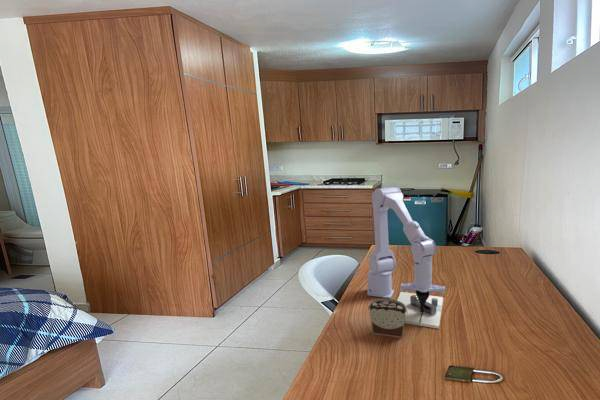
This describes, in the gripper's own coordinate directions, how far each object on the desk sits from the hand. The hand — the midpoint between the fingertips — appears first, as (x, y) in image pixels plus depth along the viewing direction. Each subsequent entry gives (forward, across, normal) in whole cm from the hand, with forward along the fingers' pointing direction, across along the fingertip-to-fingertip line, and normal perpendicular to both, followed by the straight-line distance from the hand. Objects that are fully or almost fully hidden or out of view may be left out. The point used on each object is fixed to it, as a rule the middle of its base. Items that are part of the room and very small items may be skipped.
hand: (422, 310), depth 127 cm
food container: (+2, -11, -13) cm, 17 cm away
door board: (+2, -1, +5) cm, 5 cm away
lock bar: (+1, 0, +3) cm, 3 cm away
